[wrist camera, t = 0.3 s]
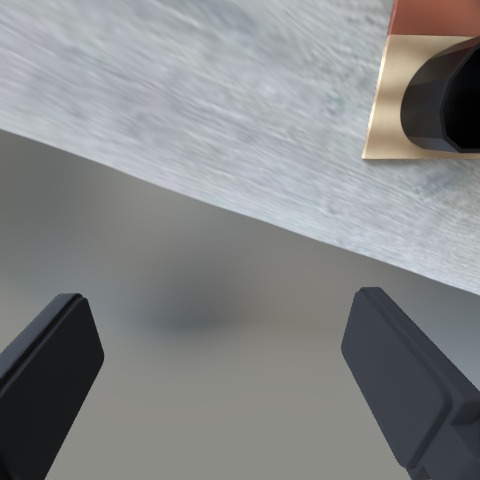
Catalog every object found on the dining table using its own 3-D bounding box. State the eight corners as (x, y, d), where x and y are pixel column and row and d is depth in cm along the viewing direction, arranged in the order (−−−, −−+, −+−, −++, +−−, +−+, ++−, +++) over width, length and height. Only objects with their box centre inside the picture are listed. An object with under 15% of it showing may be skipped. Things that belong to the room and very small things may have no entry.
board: (424, -148, 24) (430, -157, 24) (600, -136, 25) (611, -143, 25) (361, 158, 37) (363, 159, 36) (480, 158, 38) (485, 158, 37)
